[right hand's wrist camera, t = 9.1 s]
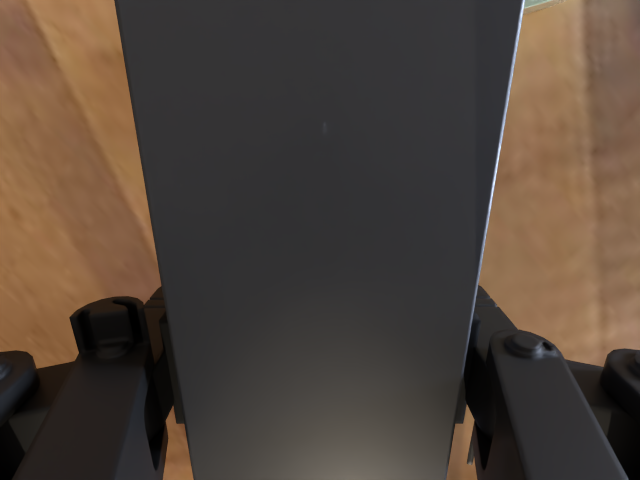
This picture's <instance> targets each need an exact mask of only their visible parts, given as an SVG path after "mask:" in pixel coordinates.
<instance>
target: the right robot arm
mask: <svg viewBox="0 0 640 480" xmlns="http://www.w3.org/2000/svg"><path fill="white" fill-rule="evenodd" d="M69 318H70V322H71V325H72V329H73V333H74V336H75V340H76V344H77V347H78V351H79V354H78V356H77V358H76V360H75V361H73V362H69V363H64V364H59V365H54V366H49V367H44V368H39V369H36V366H35V362H34V359H33V356H31V355H30V354H29V353H27V352H24V351H16V350H15V351H7V352H0V480H163V473H164V466H165V459H166V451H167V444H168V432H167V426H166V419H167V417H168V415H169V413H170V410H171V408H172V406H174V412H175V417H176V423H177V424H184V418H183V412H182V406H181V400H180V394H179V387H178V381H177V375H176V369H175V363H174V357H173V351H172V345H171V339H170V333H169V327H168V321H167V315H166V309H165V303H164V297H163V291H162V286H161V287H160V288H158V289H157V290H156V292H155V293H154V294H153V295H152V296H151V297H150V300H148V301H147V302H146V303H145V305H143V302H142V301H140V300H139V299H138V298H134V297H129V296H122V297H111V298H106V299H101V300H98V301H95V302H92V303H90V304H87V305H85V306H84V307H82V308H80V309H78V310H77V311H76V312H74V313H73V314H72V315H71V316H70V317H69ZM466 404H467V405H468V407H469V409H470V411H471V413H472V415H473V417H474V419H475V421H474V426H473V431H472V437H471V442H470V447H469V453H468V459H467V464H470V465H472V464H473V459H474V458H475V465H476V472H477V479H478V480H640V350H632V349H617V350H613V351H612V352H610V353H609V354H608V355H607V358H606V361H605V364H604V367H600V366H595V365H590V364H585V363H579V362H574V361H570V360H566V359H564V357H563V355H562V354H561V352H560V351H559V350H558V349H557V347H556V346H555V345H554V344H552V343H551V342H549V341H548V340H546V339H545V338H543V337H541V336H538V335H536V334H533V333H531V332H527V331H522V330H518V329H517V328H516V327H515V325H514V324H513V323H512V322H511V321H510V320H509V318H508V317H507V316H506V315H505V314H504V313H503V311H502V310H501V309H500V308H499V307H497V304H496V303H495V302H494V301H493V300H492V299H490V296H489V295H488V294H487V293H486V291H485V290H484V289H483V288H482V287H481V286H479V285H478V289H477V295H476V301H475V307H474V313H473V319H472V325H471V331H470V337H469V343H468V349H467V355H466V361H465V367H464V373H463V379H462V385H461V391H460V397H459V404H458V410H457V416H456V422H455V424H463V421H464V416H465V410H466Z"/></svg>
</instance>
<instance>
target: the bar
mask: <svg viewBox="0 0 640 480" xmlns="http://www.w3.org/2000/svg"><path fill="white" fill-rule="evenodd" d="M114 1H115V7H116V13H117V19H118V25H119V31H120V37H121V43H122V49H123V55H124V61H125V67H126V73H127V79H128V85H129V91H130V97H131V103H132V109H133V116H134V122H135V128H136V134H137V140H138V146H139V152H140V158H141V164H142V170H143V176H144V182H145V188H146V194H147V200H148V206H149V212H150V218H151V224H152V230H153V236H154V242H155V248H156V255H157V261H158V267H159V273H160V279H161V285H162V291H163V297H164V303H165V309H166V315H167V321H168V327H169V333H170V339H171V345H172V351H173V357H174V363H175V369H176V375H177V381H178V387H179V394H180V400H181V406H182V412H183V418H184V424H185V430H186V436H187V442H188V448H189V454H190V460H191V466H192V472H193V478H194V480H446V476H447V470H448V464H449V458H450V452H451V446H452V440H453V434H454V428H455V422H456V416H457V410H458V404H459V397H460V391H461V385H462V379H463V373H464V367H465V361H466V355H467V349H468V343H469V337H470V331H471V325H472V319H473V313H474V307H475V301H476V295H477V289H478V282H479V276H480V270H481V264H482V258H483V252H484V246H485V240H486V234H487V228H488V222H489V216H490V210H491V204H492V198H493V192H494V186H495V180H496V173H497V167H498V161H499V155H500V149H501V143H502V137H503V131H504V125H505V119H506V113H507V107H508V101H509V95H510V89H511V83H512V77H513V71H514V65H515V58H516V52H517V46H518V40H519V34H520V28H521V22H522V16H523V10H524V4H525V0H114Z"/></svg>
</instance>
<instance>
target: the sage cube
mask: <svg viewBox="0 0 640 480" xmlns="http://www.w3.org/2000/svg"><path fill="white" fill-rule="evenodd" d="M564 1H567V0H525V4H524V10H523V15H525V14H528V13H531V12H535V11H538V10H542V9H545V8H549V7H551V6H554V5H556V4H559V3H562V2H564Z"/></svg>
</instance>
